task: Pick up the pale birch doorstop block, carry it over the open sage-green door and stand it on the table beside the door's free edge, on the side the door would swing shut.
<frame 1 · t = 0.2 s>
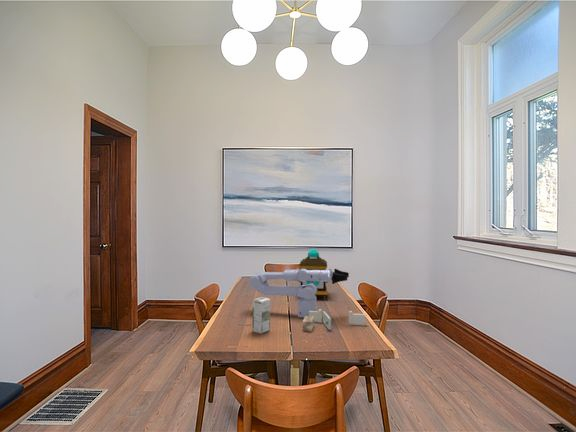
hand: (348, 276, 167), 21 cm above the table, tool horizontal, fingers open, 7 cm apart
decorative lantern: (313, 296, 211), on the table
syrup box: (261, 331, 151), on the table
birch doorstop block: (308, 328, 155), on the table
door: (325, 320, 157), point 3 cm above the table, hinge at 70.0°
wall frame: (336, 323, 161), on the table
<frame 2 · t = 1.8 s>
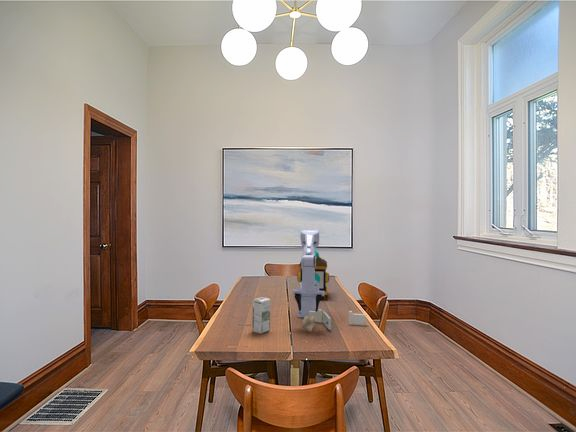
hand: (308, 310, 154), 8 cm above the table, tool pointing down, fingers open, 7 cm apart
nothing on the table moved.
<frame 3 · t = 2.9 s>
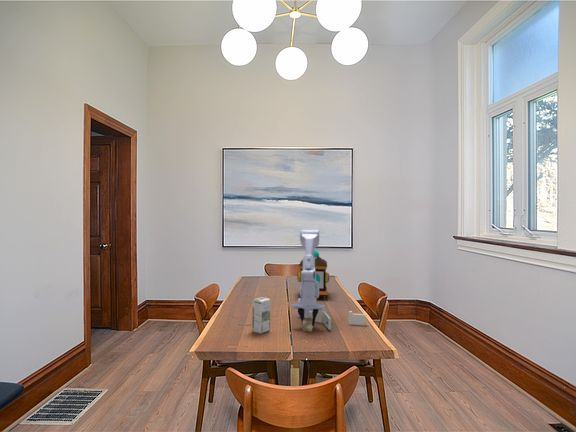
hand: (308, 325, 155), 1 cm above the table, tool pointing down, fingers closed on birch doorstop block, 4 cm apart
birch doorstop block: (308, 328, 155), on the table, touching gripper
everything else where it was.
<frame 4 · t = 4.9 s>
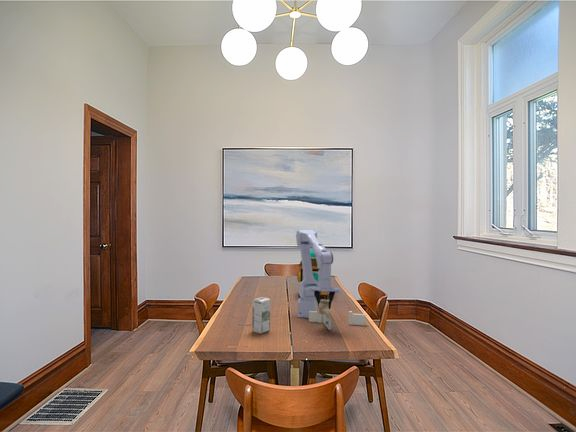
hand: (324, 307, 154), 9 cm above the table, tool pointing down, fingers closed on birch doorstop block, 4 cm apart
birch doorstop block: (324, 311, 154), point 8 cm above the table, touching gripper
everything else where it was.
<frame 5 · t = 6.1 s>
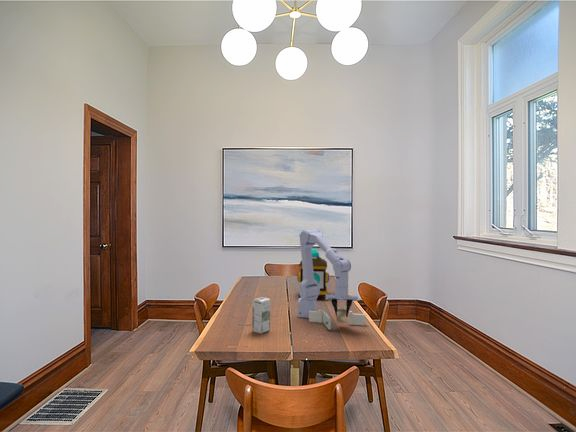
hand: (341, 315, 154), 6 cm above the table, tool pointing down, fingers closed on birch doorstop block, 4 cm apart
birch doorstop block: (341, 319, 154), point 4 cm above the table, touching gripper
everything else where it was.
when the fingers open (3 cm above the table, at t = 7.0 s): birch doorstop block drops 1 cm, on the table.
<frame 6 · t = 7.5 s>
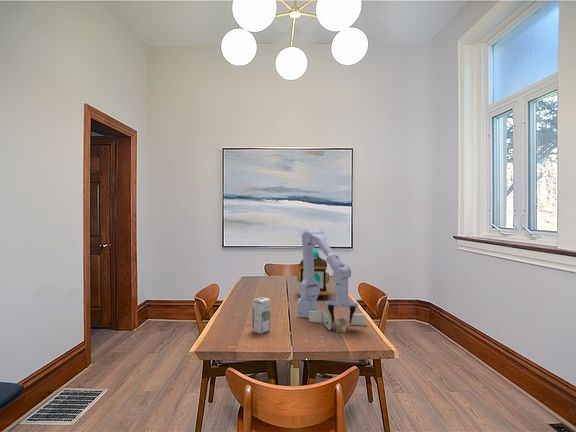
hand: (341, 322, 154), 3 cm above the table, tool pointing down, fingers open, 7 cm apart
birch doorstop block: (341, 329, 154), on the table
everything else where it was.
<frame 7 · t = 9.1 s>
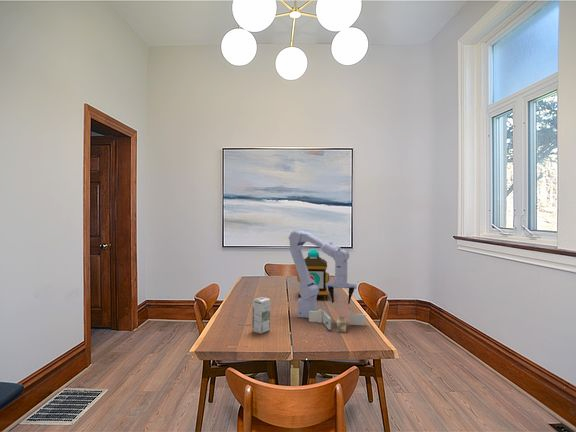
hand: (340, 302, 163), 9 cm above the table, tool pointing down, fingers open, 7 cm apart
nothing on the table moved.
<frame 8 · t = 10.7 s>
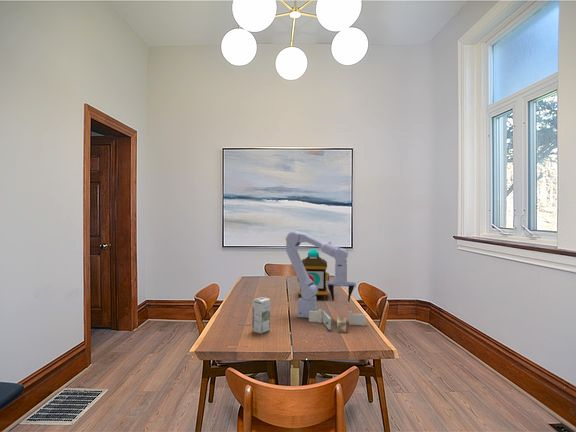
hand: (340, 300, 166), 9 cm above the table, tool pointing down, fingers open, 7 cm apart
nothing on the table moved.
at the end: birch doorstop block 0.3 cm from the target spot, on the table; birch doorstop block tilted 0°; door at +70° (first picture: +70°) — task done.
